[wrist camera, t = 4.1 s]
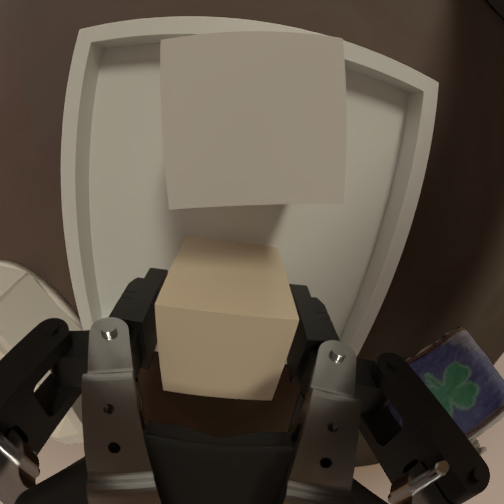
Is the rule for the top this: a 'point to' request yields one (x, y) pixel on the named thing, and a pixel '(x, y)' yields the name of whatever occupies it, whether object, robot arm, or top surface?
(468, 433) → the flask
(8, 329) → the bowl
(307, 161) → the pebble grey
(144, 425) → the robot arm
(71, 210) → the tray
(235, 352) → the cream wooden brick
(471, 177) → the top surface
